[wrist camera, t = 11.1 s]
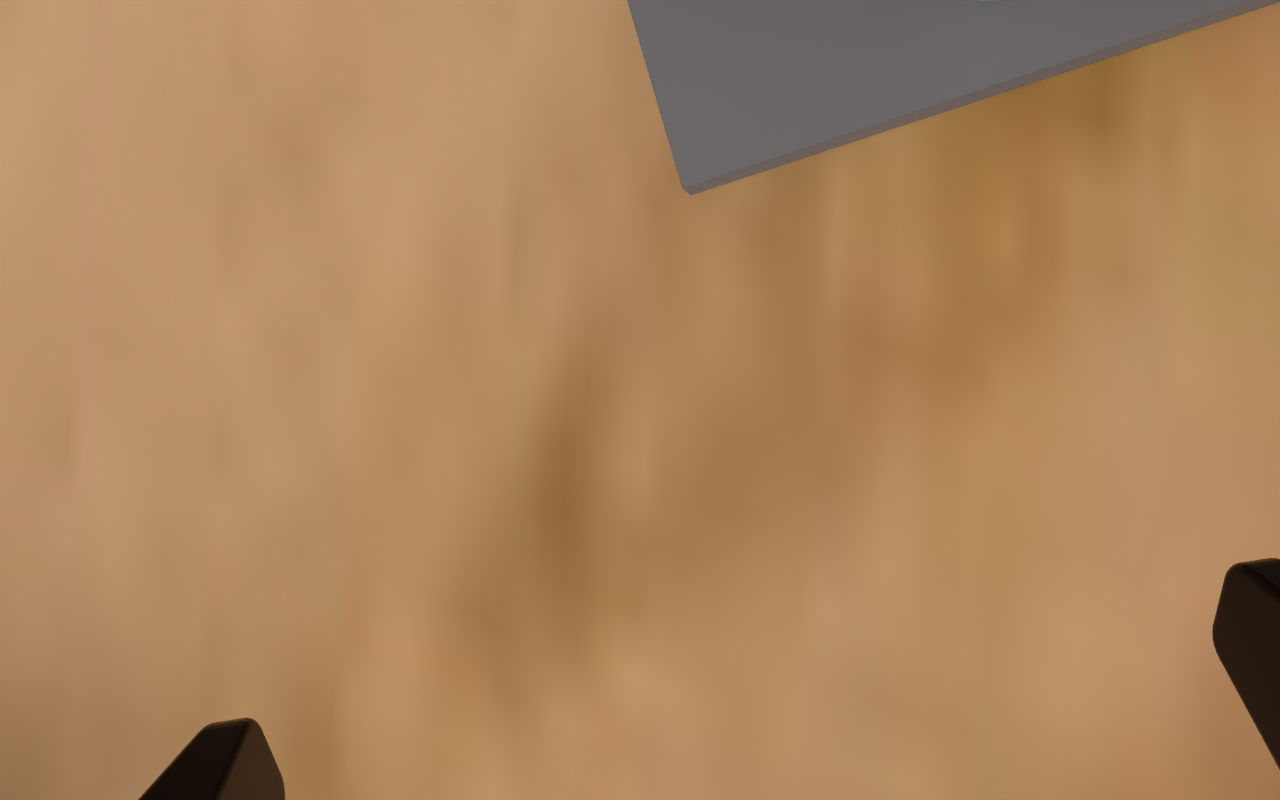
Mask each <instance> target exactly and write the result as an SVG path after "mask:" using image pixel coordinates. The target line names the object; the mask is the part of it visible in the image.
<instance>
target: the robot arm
mask: <svg viewBox="0 0 1280 800" xmlns="http://www.w3.org/2000/svg"><path fill="white" fill-rule="evenodd" d="M1213 642H1214V646H1215V649H1216V652H1217V654H1218V656H1219V659H1220V660H1221V662H1222V664H1223V666H1224V668H1225V670H1226V671H1227V673H1228V675H1229V677H1230V679H1231V681H1232V683H1233V684H1234V686H1235V688H1236V690H1237V692H1238V694H1239V695H1240V697H1241V699H1242V701H1243V703H1244V705H1245V707H1246V708H1247V710H1248V712H1249V714H1250V716H1251V718H1252V719H1253V721H1254V723H1255V725H1256V727H1257V729H1258V731H1259V732H1260V734H1261V736H1262V738H1263V740H1264V742H1265V743H1266V745H1267V747H1268V749H1269V751H1270V753H1271V755H1272V756H1273V758H1274V760H1275V762H1276V764H1277V766H1278V768H1279V769H1280V559H1277V558H1268V559H1261V560H1255V561H1248V562H1242V563H1237V564H1235V565H1233V566H1232V567H1231V568H1230V569H1229V570H1228V571H1227V573H1226V575H1225V579H1224V583H1223V587H1222V591H1221V595H1220V599H1219V603H1218V607H1217V611H1216V615H1215V619H1214V623H1213ZM138 800H285V789H284V783H283V778H282V776H281V773H280V771H279V768H278V766H277V764H276V761H275V759H274V757H273V754H272V752H271V750H270V747H269V745H268V743H267V740H266V738H265V736H264V734H263V731H262V729H261V727H260V726H259V724H258V723H257V722H256V721H255V720H254V719H252V718H241V719H235V720H229V721H222V722H216V723H212V724H209V725H207V726H206V727H204V728H203V729H202V730H201V731H200V732H199V733H198V734H197V735H196V736H195V737H194V738H193V739H192V740H191V741H190V743H189V744H188V745H187V746H186V747H185V748H184V749H183V750H182V751H181V753H180V754H179V755H178V756H177V757H176V758H175V759H174V760H173V761H172V763H171V764H170V765H169V766H168V767H167V768H166V769H165V770H164V772H163V773H162V774H161V775H160V776H159V777H158V778H157V779H156V780H155V782H154V783H153V784H152V785H151V786H150V787H149V788H148V789H147V790H146V792H145V793H144V794H143V795H142V796H141V797H140V798H139V799H138Z"/></svg>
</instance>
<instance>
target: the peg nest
mask: <svg viewBox="0 0 1280 800" xmlns="http://www.w3.org/2000/svg"><path fill="white" fill-rule="evenodd" d="M627 1H628V4H629V8H630V11H631V15H632V18H633V21H634V25H635V28H636V32H637V35H638V38H639V42H640V45H641V49H642V52H643V55H644V59H645V62H646V66H647V69H648V72H649V76H650V79H651V83H652V86H653V90H654V93H655V96H656V100H657V103H658V107H659V110H660V113H661V117H662V120H663V124H664V127H665V130H666V134H667V137H668V141H669V144H670V147H671V151H672V154H673V158H674V161H675V165H676V168H677V171H678V175H679V178H680V182H681V185H682V188H683V189H684V190H685V191H686V192H688V193H689V194H690V195H692V194H695V193H698V192H701V191H704V190H707V189H710V188H713V187H716V186H719V185H722V184H725V183H728V182H732V181H735V180H738V179H741V178H744V177H747V176H750V175H753V174H756V173H759V172H762V171H765V170H768V169H771V168H774V167H777V166H780V165H783V164H786V163H789V162H792V161H795V160H798V159H802V158H805V157H808V156H811V155H814V154H817V153H820V152H823V151H826V150H829V149H832V148H835V147H838V146H841V145H844V144H847V143H850V142H853V141H856V140H859V139H862V138H865V137H868V136H872V135H875V134H878V133H881V132H884V131H887V130H890V129H893V128H896V127H899V126H902V125H905V124H908V123H911V122H914V121H917V120H920V119H923V118H926V117H929V116H932V115H935V114H938V113H942V112H945V111H948V110H951V109H954V108H957V107H960V106H963V105H966V104H969V103H972V102H975V101H978V100H981V99H984V98H987V97H990V96H993V95H996V94H999V93H1002V92H1005V91H1008V90H1011V89H1015V88H1018V87H1021V86H1024V85H1027V84H1030V83H1033V82H1036V81H1039V80H1042V79H1045V78H1048V77H1051V76H1054V75H1057V74H1060V73H1063V72H1066V71H1069V70H1072V69H1075V68H1078V67H1081V66H1085V65H1088V64H1091V63H1094V62H1097V61H1100V60H1103V59H1106V58H1109V57H1112V56H1115V55H1118V54H1121V53H1124V52H1127V51H1130V50H1133V49H1136V48H1139V47H1142V46H1145V45H1148V44H1151V43H1155V42H1158V41H1161V40H1164V39H1167V38H1170V37H1173V36H1176V35H1179V34H1182V33H1185V32H1188V31H1191V30H1194V29H1197V28H1200V27H1203V26H1206V25H1209V24H1212V23H1215V22H1218V21H1221V20H1225V19H1228V18H1231V17H1234V16H1237V15H1240V14H1243V13H1246V12H1249V11H1252V10H1255V9H1258V8H1261V7H1264V6H1267V5H1270V4H1273V3H1276V2H1279V1H1280V0H627Z"/></svg>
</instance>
